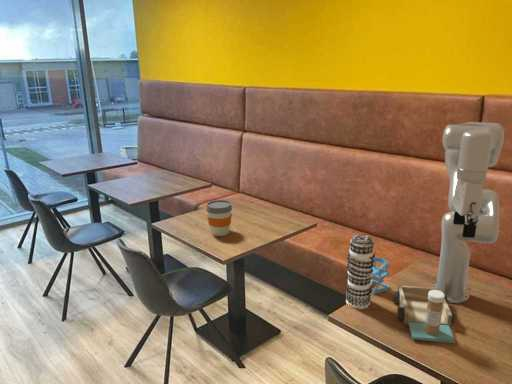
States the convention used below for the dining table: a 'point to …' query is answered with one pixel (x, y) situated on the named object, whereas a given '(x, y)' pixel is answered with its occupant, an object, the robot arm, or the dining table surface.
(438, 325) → the sprinkles bottle
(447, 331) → the tailgate
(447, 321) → the cargo bed
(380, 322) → the dining table surface
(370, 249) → the black white patterned cylinder
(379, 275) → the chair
